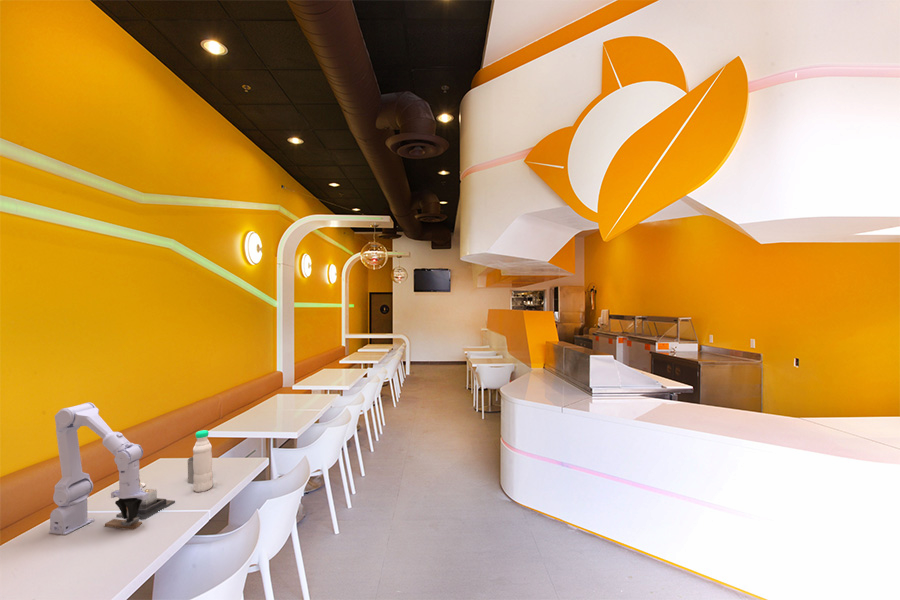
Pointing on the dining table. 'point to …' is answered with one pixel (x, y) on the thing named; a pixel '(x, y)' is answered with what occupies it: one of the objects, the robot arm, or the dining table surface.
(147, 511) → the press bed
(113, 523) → the rail
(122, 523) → the lever
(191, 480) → the cup
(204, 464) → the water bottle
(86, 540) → the dining table surface
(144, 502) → the block
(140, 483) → the burger on plate
